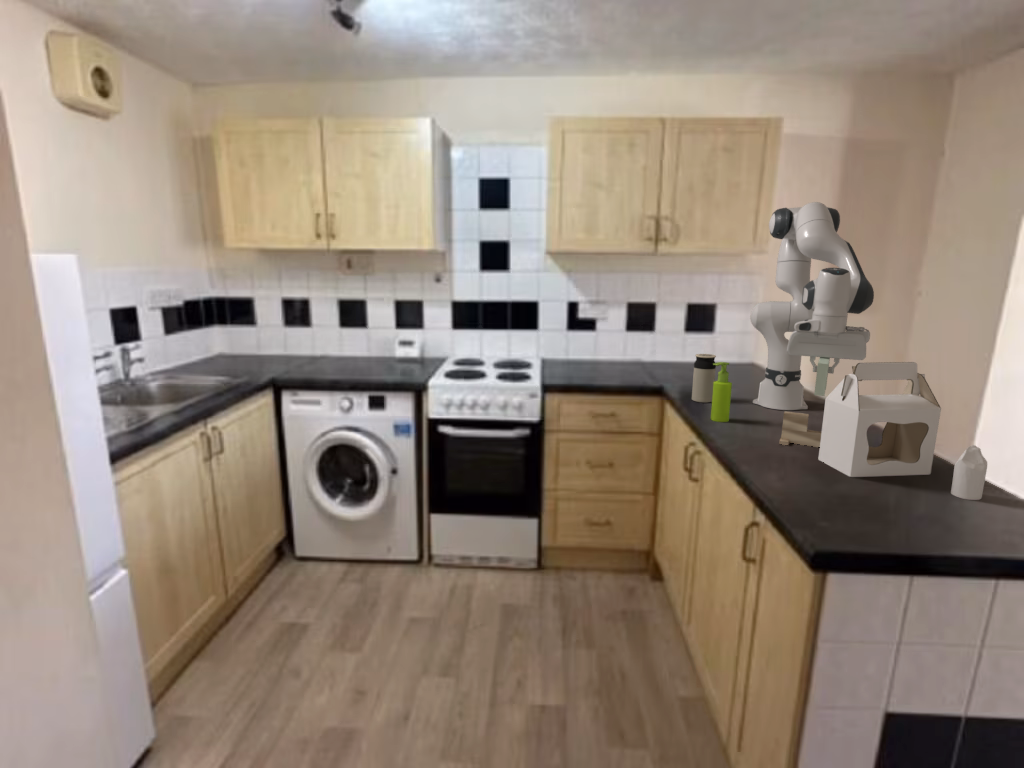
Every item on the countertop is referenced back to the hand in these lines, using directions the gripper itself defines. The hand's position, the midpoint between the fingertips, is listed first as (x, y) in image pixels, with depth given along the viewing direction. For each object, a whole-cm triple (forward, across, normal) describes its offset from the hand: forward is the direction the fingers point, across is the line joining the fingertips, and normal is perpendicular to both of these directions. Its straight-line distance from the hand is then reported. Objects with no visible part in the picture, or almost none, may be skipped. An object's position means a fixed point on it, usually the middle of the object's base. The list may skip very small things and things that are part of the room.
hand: (823, 372), depth 165 cm
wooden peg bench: (+21, 0, +5) cm, 22 cm away
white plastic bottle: (+21, -32, +28) cm, 48 cm away
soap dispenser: (+21, +30, -10) cm, 38 cm away
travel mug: (+21, +41, -36) cm, 59 cm away
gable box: (+22, -14, +17) cm, 31 cm away
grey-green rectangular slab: (+5, 0, +5) cm, 7 cm away
